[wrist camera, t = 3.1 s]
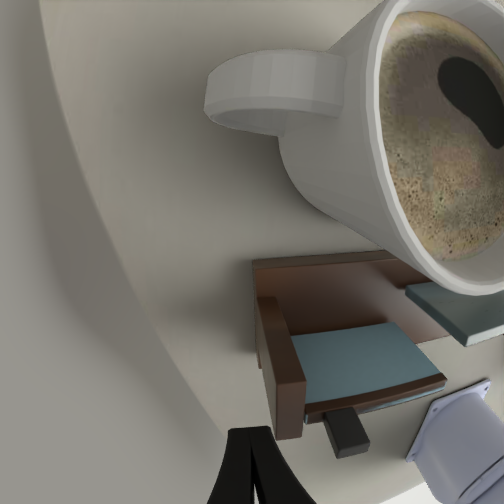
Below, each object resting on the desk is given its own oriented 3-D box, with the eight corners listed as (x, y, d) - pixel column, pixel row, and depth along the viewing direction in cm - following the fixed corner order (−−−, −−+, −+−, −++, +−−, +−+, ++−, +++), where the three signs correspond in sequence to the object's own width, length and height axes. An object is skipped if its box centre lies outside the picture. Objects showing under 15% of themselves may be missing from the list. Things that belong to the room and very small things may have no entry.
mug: (448, 149, 15) (585, 165, 6) (348, 262, 17) (459, 368, 7) (326, 8, 13) (417, -96, 3) (200, 119, 14) (157, 52, 4)
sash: (392, 330, 16) (465, 417, 9) (281, 346, 16) (316, 464, 9) (394, 320, 16) (471, 405, 9) (281, 335, 16) (318, 453, 8)
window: (465, 319, 19) (531, 374, 12) (256, 354, 18) (275, 461, 10) (480, 242, 17) (564, 283, 10) (252, 259, 16) (276, 346, 9)
